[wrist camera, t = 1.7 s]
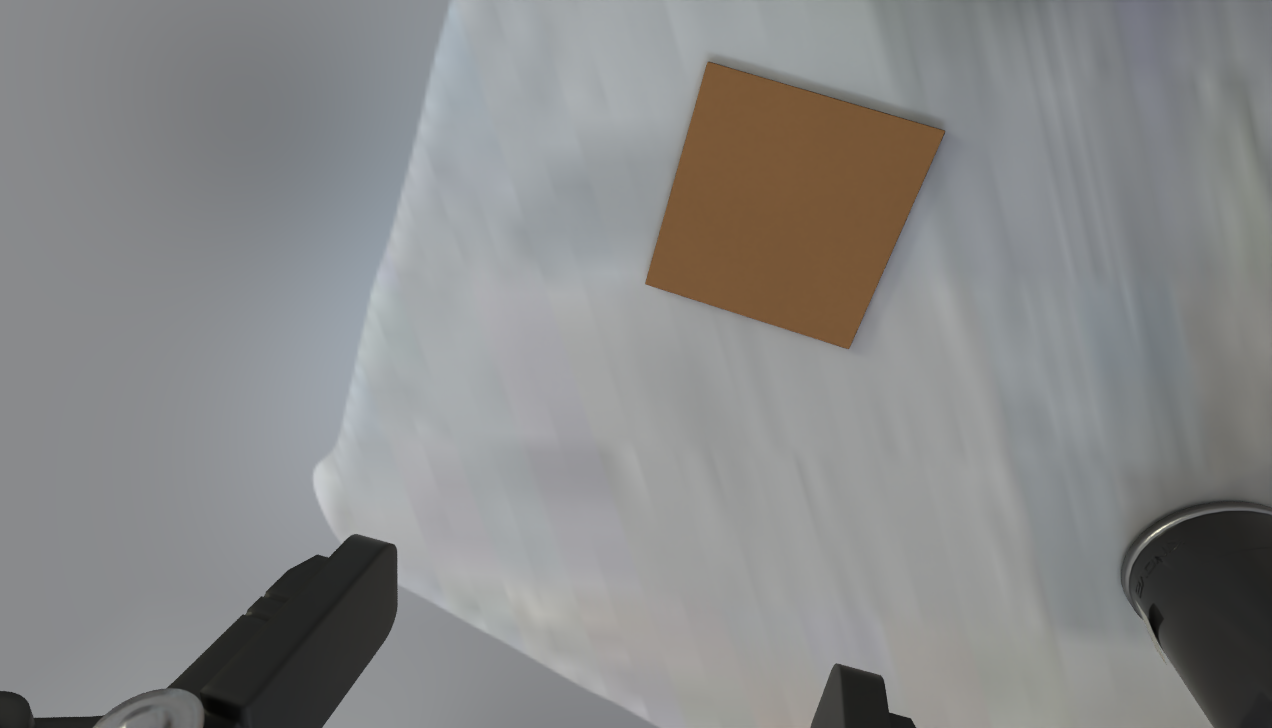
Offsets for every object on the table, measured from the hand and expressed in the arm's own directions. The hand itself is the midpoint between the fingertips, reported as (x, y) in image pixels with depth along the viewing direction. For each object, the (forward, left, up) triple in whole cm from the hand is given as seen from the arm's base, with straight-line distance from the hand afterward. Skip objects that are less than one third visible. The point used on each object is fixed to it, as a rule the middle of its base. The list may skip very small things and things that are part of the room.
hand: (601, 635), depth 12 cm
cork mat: (-2, -3, -28) cm, 28 cm away
